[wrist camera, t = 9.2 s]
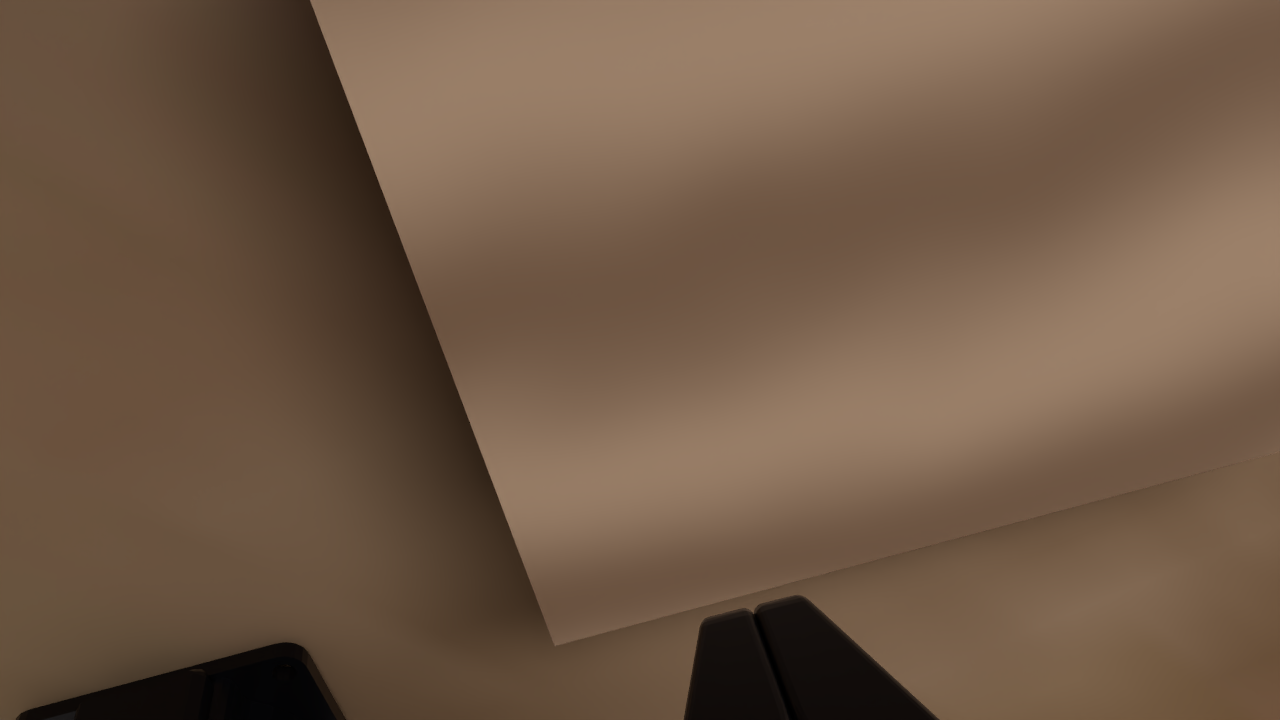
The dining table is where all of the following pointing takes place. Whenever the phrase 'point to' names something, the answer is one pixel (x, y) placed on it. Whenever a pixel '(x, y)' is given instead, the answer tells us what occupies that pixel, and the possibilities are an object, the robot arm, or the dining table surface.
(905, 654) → the dining table surface
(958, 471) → the board
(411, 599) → the dining table surface
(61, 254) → the dining table surface
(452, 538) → the dining table surface
